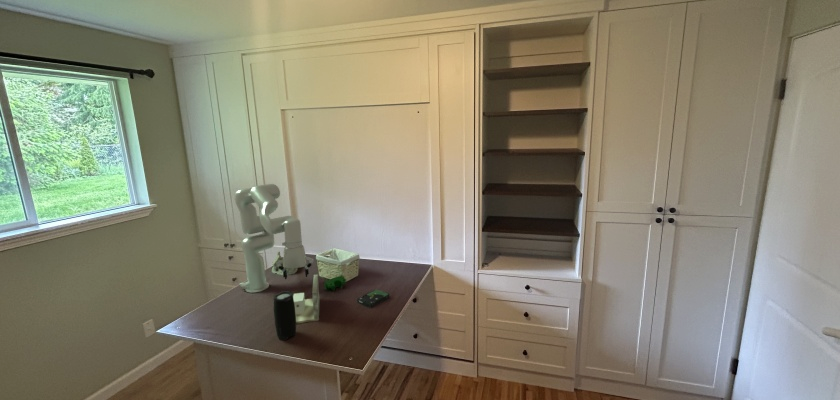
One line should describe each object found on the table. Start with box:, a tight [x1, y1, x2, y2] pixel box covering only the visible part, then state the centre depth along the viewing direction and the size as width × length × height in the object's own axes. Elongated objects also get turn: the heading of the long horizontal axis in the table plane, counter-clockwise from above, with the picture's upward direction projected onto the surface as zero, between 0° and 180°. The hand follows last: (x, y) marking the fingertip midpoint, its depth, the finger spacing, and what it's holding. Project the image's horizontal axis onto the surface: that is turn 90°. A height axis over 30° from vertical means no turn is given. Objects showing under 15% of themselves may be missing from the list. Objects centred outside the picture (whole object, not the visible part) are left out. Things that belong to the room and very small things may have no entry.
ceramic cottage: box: [271, 250, 298, 276], centre depth 221 cm, size 16×16×15 cm
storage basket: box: [315, 247, 360, 282], centre depth 212 cm, size 24×16×15 cm
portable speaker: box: [272, 290, 297, 341], centre depth 148 cm, size 9×9×20 cm
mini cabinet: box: [293, 292, 305, 315], centre depth 169 cm, size 5×10×7 cm, turn 15°
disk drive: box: [356, 289, 391, 309], centre depth 181 cm, size 10×3×15 cm
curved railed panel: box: [296, 273, 321, 325], centre depth 169 cm, size 19×22×14 cm
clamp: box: [323, 275, 347, 292], centre depth 195 cm, size 12×6×9 cm, turn 128°
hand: (296, 277), depth 167 cm, fingers open, 9 cm apart
